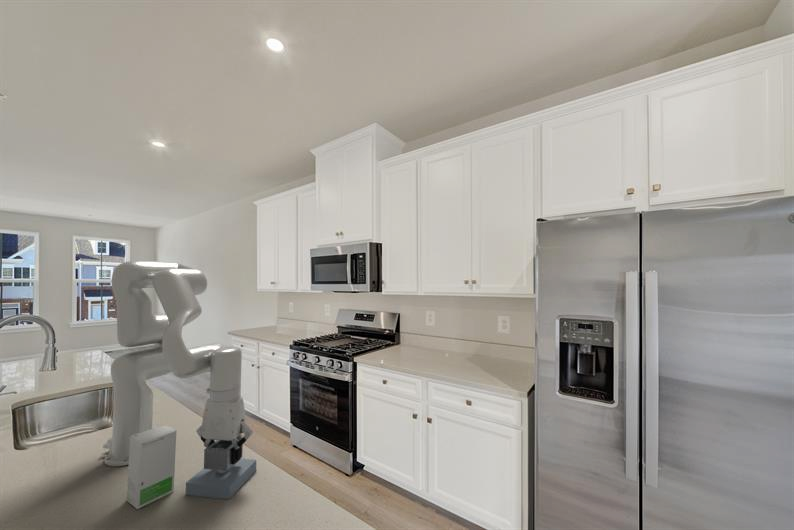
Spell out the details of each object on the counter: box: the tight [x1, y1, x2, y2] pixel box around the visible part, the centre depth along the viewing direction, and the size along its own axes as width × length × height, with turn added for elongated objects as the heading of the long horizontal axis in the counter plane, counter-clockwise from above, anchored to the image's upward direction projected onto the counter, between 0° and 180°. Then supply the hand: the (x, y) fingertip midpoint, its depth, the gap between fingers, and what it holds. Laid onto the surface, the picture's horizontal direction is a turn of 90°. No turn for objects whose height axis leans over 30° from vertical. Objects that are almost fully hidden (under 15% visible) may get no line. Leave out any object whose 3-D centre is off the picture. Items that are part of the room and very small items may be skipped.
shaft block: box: [185, 458, 257, 500], centre depth 87 cm, size 12×12×7 cm
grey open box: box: [203, 439, 244, 471], centre depth 87 cm, size 7×7×5 cm
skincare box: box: [126, 425, 177, 510], centre depth 82 cm, size 8×7×16 cm
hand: (223, 460), depth 87 cm, fingers closed on grey open box, 6 cm apart
